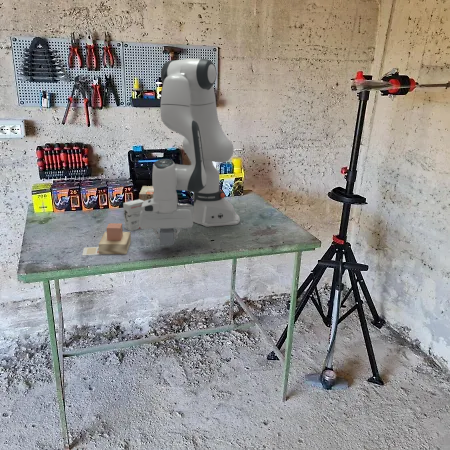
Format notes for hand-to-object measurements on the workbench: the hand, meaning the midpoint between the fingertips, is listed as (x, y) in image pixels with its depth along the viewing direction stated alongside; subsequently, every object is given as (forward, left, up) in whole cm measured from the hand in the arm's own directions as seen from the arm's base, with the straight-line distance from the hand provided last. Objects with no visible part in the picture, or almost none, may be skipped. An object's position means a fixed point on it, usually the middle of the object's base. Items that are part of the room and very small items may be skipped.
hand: (167, 238), depth 159 cm
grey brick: (0, 0, -2) cm, 2 cm away
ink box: (+15, -23, -5) cm, 28 cm away
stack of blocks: (+11, -44, -5) cm, 46 cm away
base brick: (+20, -2, -5) cm, 21 cm away
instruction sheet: (+27, +1, -5) cm, 27 cm away
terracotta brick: (+20, -2, -1) cm, 20 cm away
